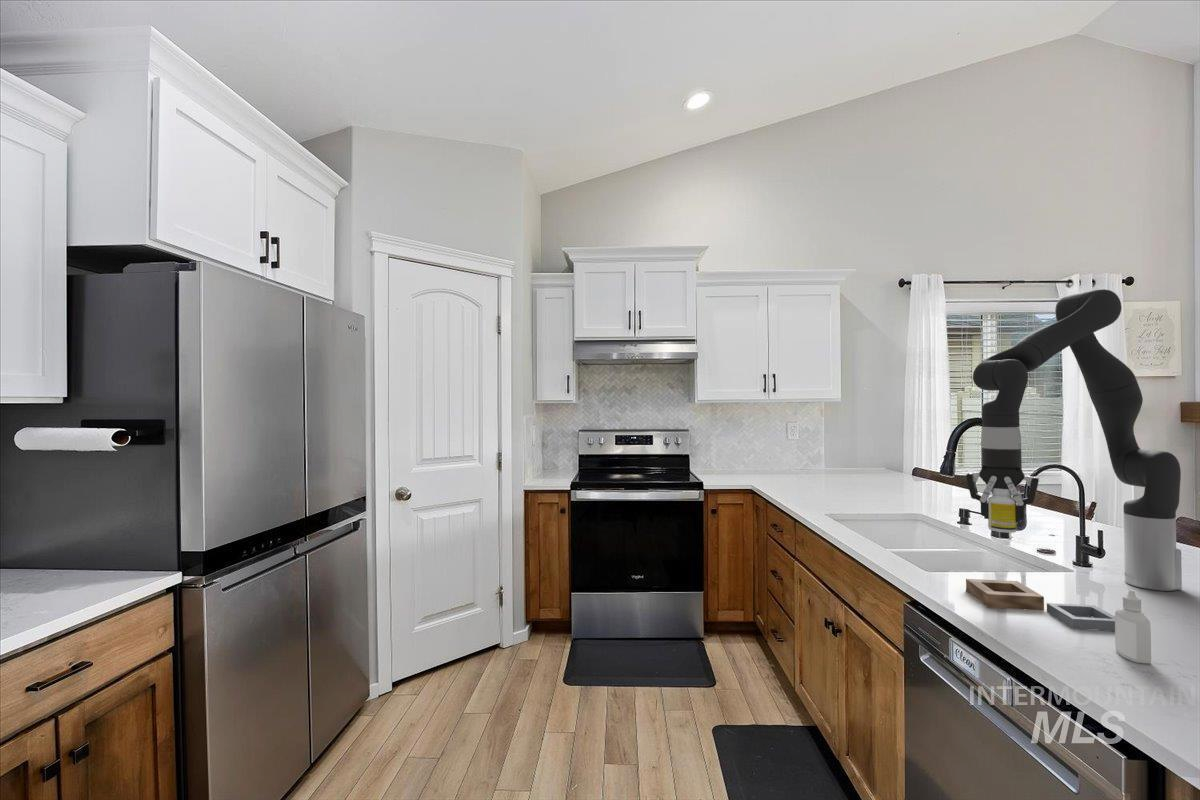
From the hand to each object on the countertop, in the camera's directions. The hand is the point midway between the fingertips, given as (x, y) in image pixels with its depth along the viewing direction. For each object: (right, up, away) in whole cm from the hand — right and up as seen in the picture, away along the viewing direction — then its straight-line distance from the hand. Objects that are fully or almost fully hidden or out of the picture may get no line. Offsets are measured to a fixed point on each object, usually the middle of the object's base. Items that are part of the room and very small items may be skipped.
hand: (1002, 519), depth 130 cm
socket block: (0, -19, 0) cm, 19 cm away
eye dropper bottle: (+3, -19, -29) cm, 35 cm away
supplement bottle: (0, -3, 0) cm, 3 cm away
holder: (+8, -18, -13) cm, 24 cm away
